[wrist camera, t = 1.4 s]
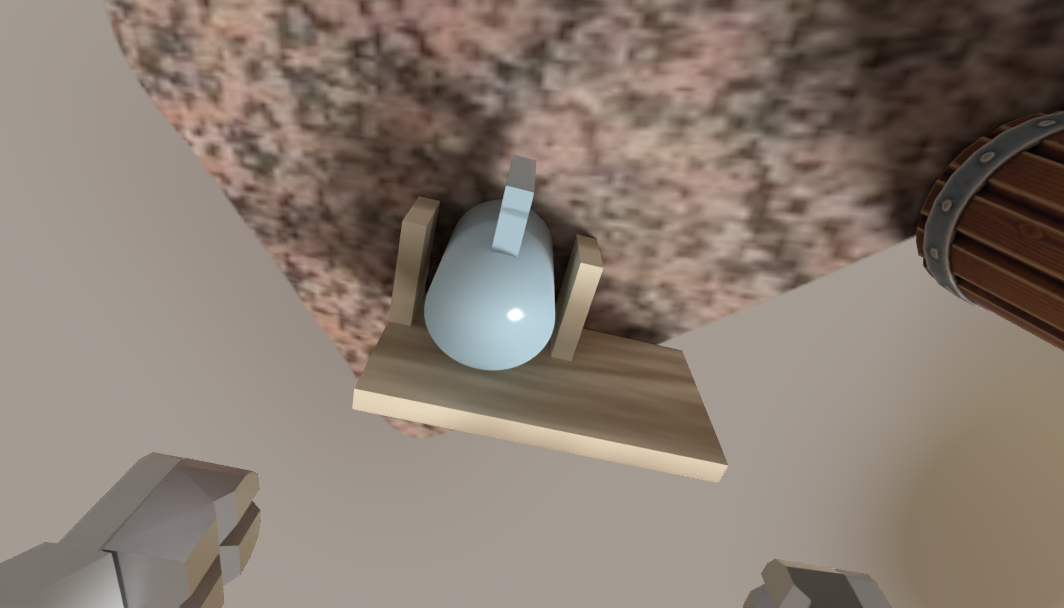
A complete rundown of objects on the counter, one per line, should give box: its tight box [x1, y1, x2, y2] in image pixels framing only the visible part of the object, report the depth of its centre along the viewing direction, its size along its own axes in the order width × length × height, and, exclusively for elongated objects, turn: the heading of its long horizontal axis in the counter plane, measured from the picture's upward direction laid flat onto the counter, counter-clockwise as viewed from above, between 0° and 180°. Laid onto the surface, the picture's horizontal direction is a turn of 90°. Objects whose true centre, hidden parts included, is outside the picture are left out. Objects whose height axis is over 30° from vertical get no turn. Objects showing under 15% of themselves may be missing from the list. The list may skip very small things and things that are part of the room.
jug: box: [424, 155, 555, 370], centre depth 27 cm, size 9×6×8 cm, turn 166°
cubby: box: [352, 196, 728, 483], centre depth 28 cm, size 7×18×10 cm, turn 76°
